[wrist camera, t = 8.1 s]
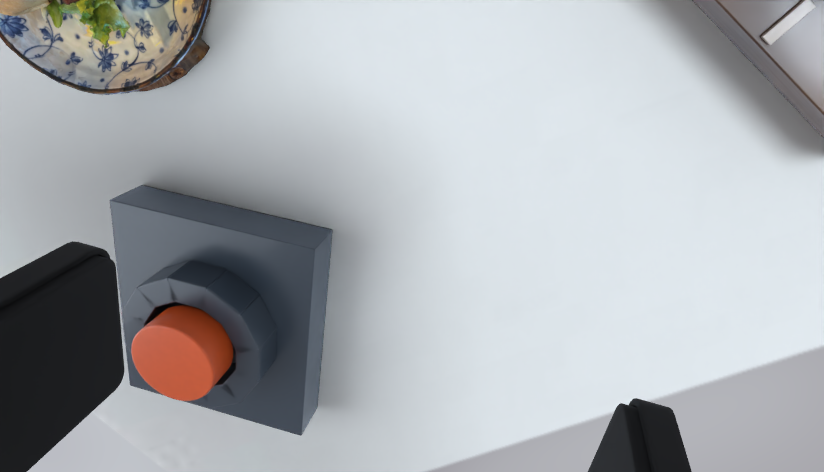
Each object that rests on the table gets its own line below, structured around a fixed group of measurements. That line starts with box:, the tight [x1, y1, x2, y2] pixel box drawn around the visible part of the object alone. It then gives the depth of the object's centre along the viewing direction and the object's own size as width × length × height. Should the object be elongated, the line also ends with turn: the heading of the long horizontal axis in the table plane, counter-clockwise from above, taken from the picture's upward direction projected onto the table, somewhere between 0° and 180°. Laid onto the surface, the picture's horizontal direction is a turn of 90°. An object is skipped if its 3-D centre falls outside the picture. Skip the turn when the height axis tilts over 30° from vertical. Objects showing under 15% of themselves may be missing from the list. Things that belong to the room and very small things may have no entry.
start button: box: [131, 305, 233, 401], centre depth 24 cm, size 4×4×2 cm
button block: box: [110, 185, 332, 435], centre depth 27 cm, size 11×10×4 cm
